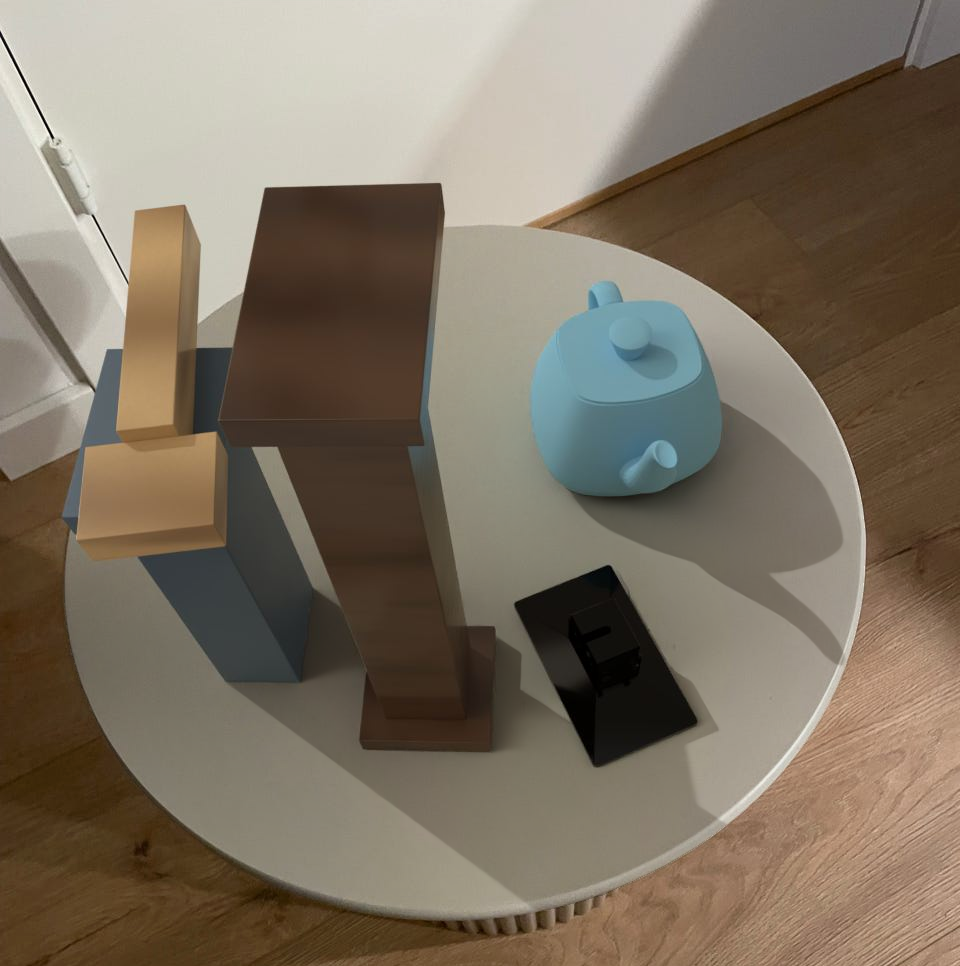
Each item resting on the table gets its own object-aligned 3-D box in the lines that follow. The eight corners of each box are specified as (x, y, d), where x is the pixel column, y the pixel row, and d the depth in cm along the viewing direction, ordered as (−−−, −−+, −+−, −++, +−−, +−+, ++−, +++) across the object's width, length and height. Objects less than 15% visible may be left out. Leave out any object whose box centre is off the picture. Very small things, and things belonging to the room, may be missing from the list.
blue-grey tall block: (229, 568, 70) (106, 348, 51) (330, 568, 70) (243, 346, 51) (205, 703, 66) (60, 517, 47) (313, 704, 65) (210, 517, 46)
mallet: (120, 254, 54) (101, 214, 52) (233, 240, 54) (218, 199, 52) (92, 562, 46) (67, 530, 43) (226, 546, 46) (208, 513, 43)
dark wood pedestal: (379, 588, 69) (251, 186, 40) (498, 589, 68) (454, 181, 40) (362, 750, 64) (202, 421, 35) (491, 752, 63) (434, 419, 35)
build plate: (513, 605, 68) (509, 569, 64) (613, 565, 69) (616, 527, 65) (594, 769, 62) (596, 740, 58) (702, 723, 63) (712, 691, 59)
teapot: (567, 482, 59) (505, 259, 67) (566, 576, 68) (512, 371, 76) (782, 439, 59) (694, 223, 67) (751, 539, 69) (678, 339, 77)
